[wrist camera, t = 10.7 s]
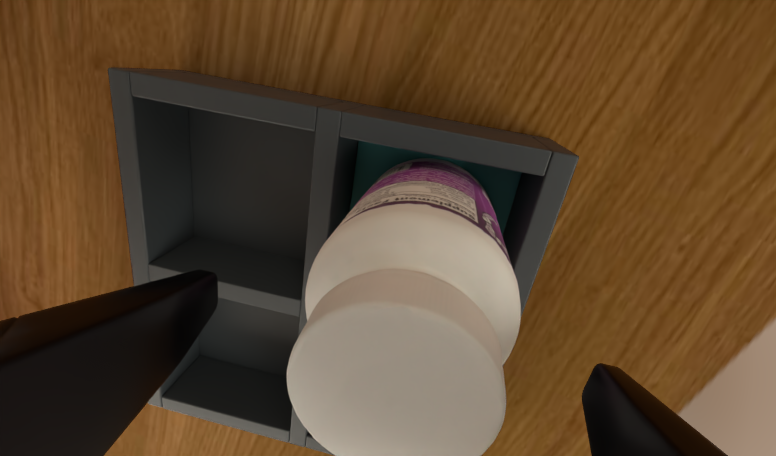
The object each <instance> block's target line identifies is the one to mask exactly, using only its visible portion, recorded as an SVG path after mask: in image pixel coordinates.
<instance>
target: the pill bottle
mask: <svg viewBox="0 0 776 456" xmlns="http://www.w3.org/2000/svg"><path fill="white" fill-rule="evenodd" d="M305 307H306V316H307V323H306V325H305V326H304V328H303V330H302V332H301V333H300V335H299V337H298V339H297V341H296V343H295V345H294V347H293V349H292V352H291V355H290V358H289V363H288V367H287V388H288V394H289V397H290V401H291V403H292V405H293V407H294V410H295V412H296V414H297V416H298V418H299V419H300V421H301V422H302V424H303V426H304V427H305V428H306V429H307V430H308V432H309V433H310V434H311V435H312V437H313V438H314V439H315V440H316V441H317V442H318V443H320V444H321V445H322V446H323V447H324V448H326V449H327V450H328V451H329V452H331V453H332V454H334V455H336V456H481V455H482V454H483V453H484V452H485V451H486V450H487V449H488V448H489V446H490V445H491V444H492V443H493V442H494V440H495V439H496V437H497V435H498V433H499V431H500V429H501V427H502V424H503V421H504V416H505V411H506V390H505V382H504V373H503V366H502V365H503V364H504V363H505V361H506V360H507V358H508V357H509V355H510V353H511V351H512V349H513V347H514V344H515V342H516V339H517V335H518V332H519V327H520V317H521V304H520V295H519V288H518V282H517V279H516V276H515V273H514V270H513V268H512V265H511V262H510V258H509V255H508V252H507V249H506V246H505V243H504V240H503V237H502V234H501V231H500V227H499V224H498V221H497V218H496V214H495V211H494V208H493V206H492V204H491V201H490V199H489V197H488V194H487V193H486V191H485V189H484V188H483V187H482V185H481V184H480V183H479V181H478V180H477V179H476V178H475V177H474V176H472V175H471V174H470V173H469V172H467V171H466V170H464V169H463V168H461V167H460V166H458V165H456V164H453V163H451V162H449V161H445V160H439V159H434V158H420V159H414V160H409V161H406V162H403V163H400V164H398V165H396V166H394V167H392V168H391V169H389V170H388V171H386V172H385V173H384V174H383V175H381V176H380V177H379V178H378V179H377V181H376V182H375V183H374V184H373V185H372V186H371V187H370V188H369V189H368V191H367V192H366V193H365V194H364V195H363V196H362V197H361V199H360V200H359V201H358V202H357V203H356V205H355V206H354V207H353V209H352V210H351V211H350V212H349V213H348V214H347V216H346V217H345V218H344V220H343V221H342V222H341V223H340V225H339V226H338V227H337V228H336V229H335V231H334V232H333V233H332V234H331V235H330V237H329V238H328V239H327V241H326V242H325V243H324V245H323V246H322V248H321V249H320V251H319V253H318V255H317V256H316V258H315V260H314V262H313V265H312V267H311V270H310V273H309V276H308V280H307V285H306V293H305Z"/></svg>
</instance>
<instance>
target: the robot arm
mask: <svg viewBox="0 0 776 456" xmlns="http://www.w3.org/2000/svg"><path fill="white" fill-rule="evenodd" d="M217 305H218V278H217V275H216V274H215V273H214V272H210V271H206V270H202V269H198V270H194V271H190V272H186V273H182V274H178V275H175V276H171V277H167V278H163V279H159V280H155V281H152V282H148V283H144V284H140V285H136V286H132V287H129V288H125V289H121V290H117V291H113V292H110V293H106V294H102V295H98V296H94V297H90V298H87V299H83V300H79V301H75V302H71V303H68V304H64V305H60V306H56V307H52V308H48V309H45V310H41V311H37V312H33V313H29V314H25V315H22V316H19V317H18V318H15V317H14V318H10V319H6V320H2V321H0V456H104V455H105V453H106V452H107V451H108V450H109V448H110V447H111V446H112V445H113V444H114V442H115V441H116V440H117V439H118V438H119V436H120V435H121V434H122V433H123V432H124V430H125V429H126V428H127V427H128V426H129V424H130V423H131V422H132V421H133V419H134V418H135V417H136V416H137V415H138V413H139V412H140V411H141V410H142V409H143V407H144V406H145V405H146V404H147V403H148V401H149V400H150V399H151V398H152V397H153V395H154V394H155V393H156V392H157V390H158V389H159V388H160V387H161V386H162V384H163V383H164V382H165V381H166V380H167V378H168V377H169V376H170V375H171V374H172V372H173V371H174V370H175V369H176V367H177V366H178V365H179V364H180V362H181V361H182V359H183V358H184V357H185V355H186V354H187V352H188V351H189V349H190V348H191V346H192V345H193V343H194V342H195V340H196V339H197V337H198V336H199V334H200V333H201V331H202V330H203V328H204V327H205V325H206V324H207V322H208V321H209V319H210V318H211V316H212V315H213V313H214V312H215V310H216V308H217ZM582 403H583V409H584V415H585V420H586V426H587V432H588V437H589V443H590V449H591V454H592V456H728V455H726V454H725V453H724V452H723V451H721V450H720V449H719V448H718V447H716V446H715V445H714V444H713V443H711V442H710V441H709V440H708V439H707V438H705V437H704V436H703V435H701V434H700V433H699V432H698V431H697V430H695V429H694V428H693V427H692V426H690V425H689V424H688V423H687V422H685V421H684V420H683V419H682V418H681V417H679V416H678V415H677V414H676V413H674V412H673V411H672V410H671V409H669V408H668V407H667V406H666V405H664V404H663V403H662V402H661V401H660V400H658V399H657V398H656V397H655V396H653V395H652V394H651V393H650V392H648V391H647V390H646V389H645V388H643V387H642V386H641V385H640V384H638V383H637V382H636V381H635V380H634V379H632V378H631V377H630V376H629V375H627V374H626V373H625V372H624V371H622V370H621V369H620V368H618V367H615V366H611V365H606V364H602V363H600V364H597V365H596V366H595V367H594V369H593V371H592V373H591V375H590V377H589V379H588V381H587V383H586V385H585V387H584V390H583V393H582Z"/></svg>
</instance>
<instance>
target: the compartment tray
mask: <svg viewBox="0 0 776 456" xmlns="http://www.w3.org/2000/svg"><path fill="white" fill-rule="evenodd" d="M108 74H109V83H110V91H111V99H112V108H113V116H114V124H115V133H116V141H117V149H118V157H119V166H120V174H121V182H122V191H123V199H124V207H125V216H126V224H127V232H128V241H129V249H130V257H131V265H132V274H133V282H134V286H136V285H140V284H144V283H148V282H152V281H155V280H159V279H163V278H167V277H171V276H175V275H178V274H182V273H186V272H190V271H194V270H198V269H202V270H206V271H210V272H214V273H215V274H216V275H217V278H218V305H217V308H216V310H215V312H214V313H213V315H212V316H211V318H210V319H209V321H208V322H207V324H206V325H205V327H204V328H203V330H202V331H201V333H200V334H199V336H198V337H197V339H196V340H195V342H194V343H193V345H192V346H191V348H190V349H189V351H188V352H187V354H186V355H185V357H184V358H183V359H182V361H181V362H180V364H179V365H178V366H177V367H176V369H175V370H174V371H173V372H172V374H171V375H170V376H169V377H168V378H167V380H166V381H165V382H164V383H163V384H162V386H161V387H160V388H159V389H158V390H157V392H156V393H155V394H154V395H153V397H152V398H151V399H150V400H149V401H148V403H149V404H150V405H154V406H158V407H163V408H164V409H167V410H171V411H175V412H178V413H182V414H186V415H189V416H193V417H197V418H200V419H204V420H207V421H211V422H215V423H218V424H222V425H226V426H229V427H233V428H237V429H240V430H244V431H248V432H251V433H255V434H258V435H262V436H266V437H269V438H273V439H277V440H280V441H284V442H289V443H291V444H295V445H298V446H302V447H305V446H306V448H310V449H313V450H317V451H321V452H324V453H328V454H332V453H331V452H329V451H328V450H327V449H326V448H324V447H323V446H322V445H321V444H320V443H318V442H317V441H316V440H315V439H314V438H313V437H312V435H311V434H310V433H309V432H308V430H307V429H306V428H305V427H304V426H303V424H302V422H301V421H300V419H299V418H298V416H297V414H296V412H295V410H294V407H293V405H292V403H291V401H290V397H289V394H288V388H287V367H288V363H289V358H290V355H291V352H292V349H293V347H294V345H295V343H296V341H297V339H298V337H299V335H300V333H301V332H302V330H303V328H304V326H305V325H306V323H307V316H306V307H305V293H306V285H307V280H308V276H309V273H310V270H311V267H312V265H313V262H314V260H315V258H316V256H317V255H318V253H319V251H320V249H321V248H322V246H323V245H324V243H325V242H326V241H327V239H328V238H329V237H330V235H331V234H332V233H333V232H334V231H335V229H336V228H337V227H338V226H339V225H340V223H341V222H342V221H343V220H344V218H345V217H346V216H347V214H348V213H349V212H350V211H351V210H352V209H353V207H354V206H355V205H356V203H357V202H358V201H359V200H360V199H361V197H362V196H363V195H364V194H365V193H366V192H367V191H368V189H369V188H370V187H371V186H372V185H373V184H374V183H375V182H376V181H377V179H378V178H379V177H380V176H381V175H383V174H384V173H385V172H386V171H388V170H389V169H391V168H392V167H394V166H396V165H398V164H400V163H403V162H406V161H409V160H414V159H420V158H434V159H439V160H445V161H449V162H451V163H453V164H456V165H458V166H460V167H461V168H463V169H464V170H466V171H467V172H469V173H470V174H471V175H472V176H474V177H475V178H476V179H477V180H478V181H479V183H480V184H481V185H482V187H483V188H484V189H485V191H486V193H487V194H488V197H489V199H490V201H491V204H492V206H493V208H494V211H495V214H496V218H497V221H498V224H499V227H500V231H501V234H502V237H503V240H504V243H505V246H506V249H507V252H508V255H509V258H510V262H511V265H512V268H513V270H514V273H515V276H516V279H517V282H518V288H519V295H520V304H521V316H522V313H523V310H524V308H525V305H526V302H527V299H528V297H529V294H530V291H531V288H532V286H533V283H534V280H535V277H536V275H537V272H538V269H539V266H540V264H541V261H542V258H543V255H544V253H545V250H546V247H547V245H548V242H549V239H550V236H551V234H552V231H553V228H554V225H555V223H556V220H557V217H558V214H559V212H560V209H561V206H562V203H563V201H564V198H565V195H566V192H567V190H568V187H569V184H570V181H571V179H572V176H573V173H574V170H575V168H576V165H577V162H578V159H579V156H577V155H576V154H574V153H572V152H571V151H569V150H568V149H566V148H564V147H563V146H561V145H559V144H558V143H556V142H554V141H553V140H551V139H548V138H543V137H538V136H532V135H527V134H521V133H516V132H511V131H505V130H500V129H495V128H489V127H484V126H478V125H473V124H468V123H462V122H457V121H452V120H446V119H441V118H435V117H430V116H425V115H419V114H414V113H409V112H403V111H398V110H392V109H387V108H382V107H376V106H371V105H366V104H360V103H355V102H349V101H344V100H339V99H333V98H328V97H323V96H317V95H312V94H306V93H301V92H296V91H290V90H285V89H280V88H274V87H269V86H263V85H258V84H253V83H247V82H242V81H236V80H231V79H226V78H220V77H215V76H210V75H204V74H199V73H193V72H188V71H183V70H166V69H140V68H115V67H111V68H108ZM520 319H521V317H520ZM503 365H504V364H503ZM503 365H502V366H503ZM332 455H334V454H332ZM335 456H336V455H335Z"/></svg>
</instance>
